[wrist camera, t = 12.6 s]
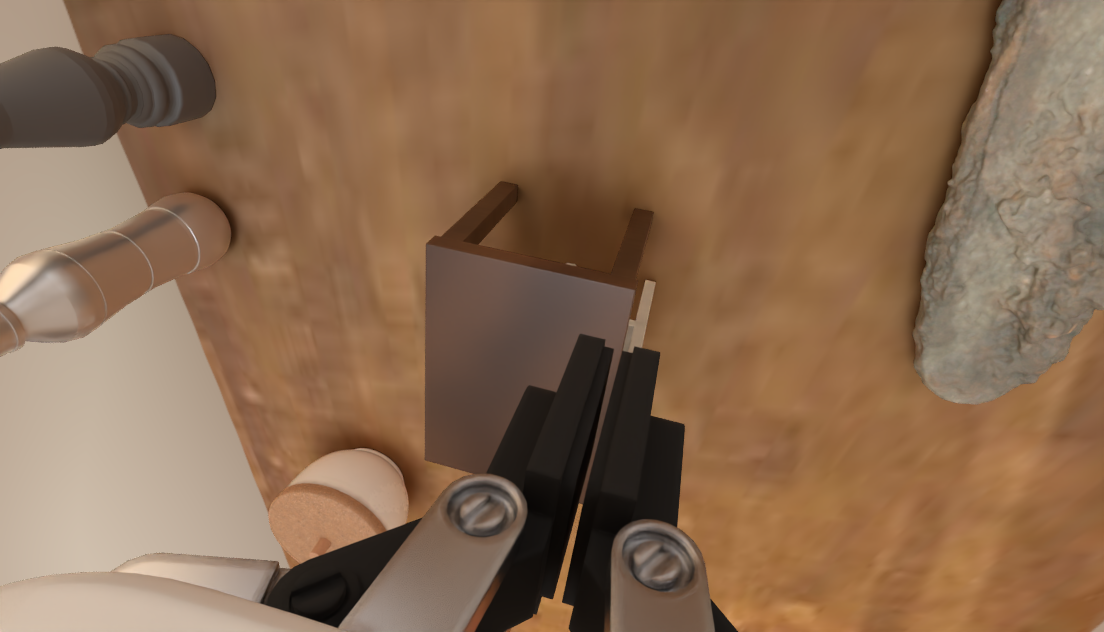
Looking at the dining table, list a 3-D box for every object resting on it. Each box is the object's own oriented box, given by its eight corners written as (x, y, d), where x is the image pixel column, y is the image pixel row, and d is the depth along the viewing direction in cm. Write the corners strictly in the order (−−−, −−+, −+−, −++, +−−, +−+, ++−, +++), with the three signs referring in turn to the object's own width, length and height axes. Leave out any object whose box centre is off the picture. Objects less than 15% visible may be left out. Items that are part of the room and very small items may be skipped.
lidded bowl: (371, 411, 59) (306, 491, 50) (450, 496, 63) (403, 585, 53) (299, 451, 65) (230, 529, 56) (375, 526, 69) (321, 612, 59)
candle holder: (220, 59, 44) (-226, 134, 23) (211, 132, 48) (-188, 255, 27) (147, 18, 44) (-370, 56, 23) (142, 94, 48) (-313, 187, 27)
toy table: (657, 209, 42) (635, 290, 31) (616, 394, 51) (588, 506, 40) (497, 178, 44) (425, 243, 33) (484, 361, 53) (424, 460, 42)
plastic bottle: (250, 214, 51) (17, 330, 34) (232, 269, 54) (14, 399, 38) (184, 170, 50) (-85, 267, 33) (171, 229, 54) (-78, 343, 37)
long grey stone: (1313, -269, 26) (1044, -237, 28) (1432, -331, 21) (1099, -285, 24) (1035, 397, 41) (878, 377, 44) (1070, 443, 37) (893, 418, 39)
